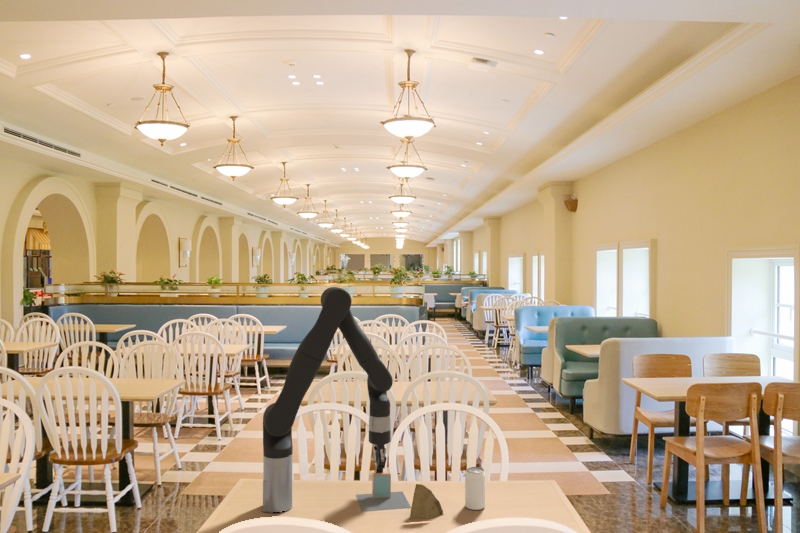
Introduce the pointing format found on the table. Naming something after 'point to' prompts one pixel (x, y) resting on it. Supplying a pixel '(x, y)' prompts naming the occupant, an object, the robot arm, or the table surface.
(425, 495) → the rock
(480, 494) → the can
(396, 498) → the mat
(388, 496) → the tile
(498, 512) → the table surface
